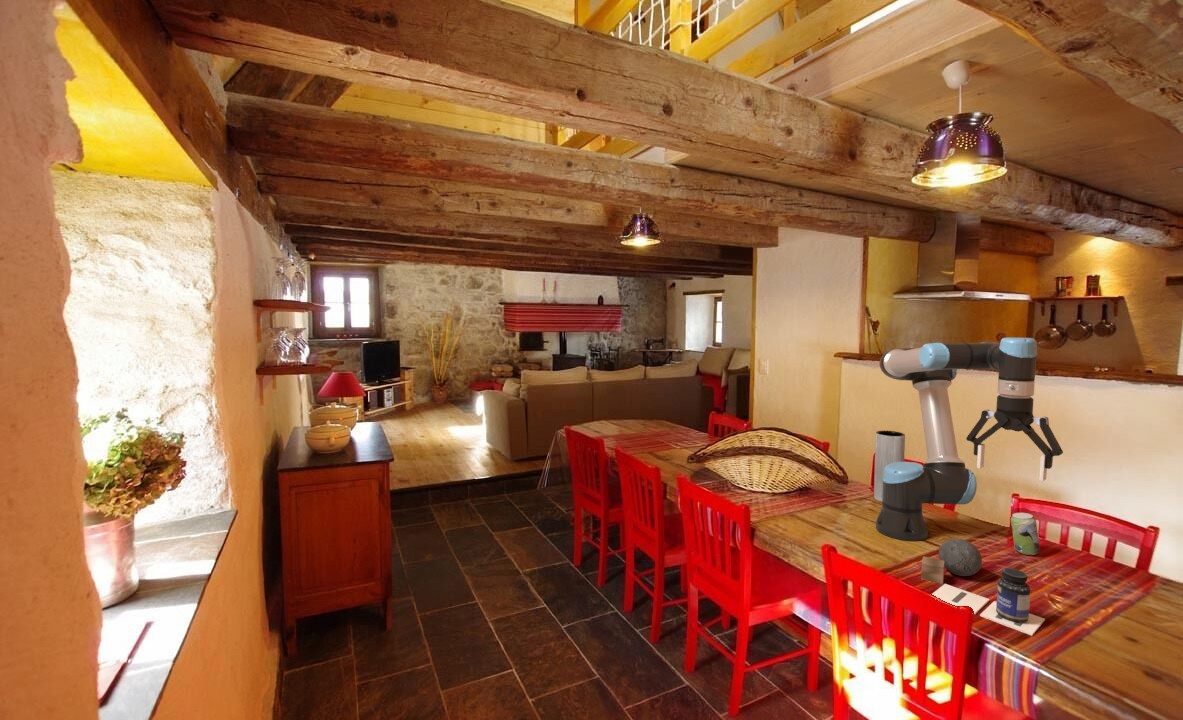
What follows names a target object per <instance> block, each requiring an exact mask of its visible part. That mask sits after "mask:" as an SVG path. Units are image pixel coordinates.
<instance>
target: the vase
mask: <svg viewBox="0 0 1183 720" xmlns="http://www.w3.org/2000/svg"><path fill="white" fill-rule="evenodd" d="M905 442H906V434H905V433H903V432H900V431H895V430H877V431H876V432H875V447H874V448H875V452H874V454H875V456H874V479H873V480H874V483H873V485H874V486H873V487H874V489H873V498H874V499H875V500H876V501H878V502H880V503H882V496H883V479H882V477H883V473H884V468H885V467H886V466H887V465H888V464H891V463H895V462H905V445H906V444H905Z"/></svg>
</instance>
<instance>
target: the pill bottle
mask: <svg viewBox="0 0 1183 720" xmlns="http://www.w3.org/2000/svg"><path fill="white" fill-rule="evenodd" d="M1001 576H1002V577H1000V578H999V579H998V580H997V591H996V602H997V604H996V612H997V613H998V614H999V615H1000V616H1001V617H1003V618H1005V619H1007V620H1010V621H1013V622H1019V623H1021V622H1027V621H1028V618H1029V613H1030V601H1031V600H1030V599H1031V587H1030V585H1029V584H1028V583H1026V582H1027V581H1028V575H1027V574H1026V573H1025V572H1024V571H1022V570H1019V569H1016V568H1010V567H1005V568H1002V570H1001Z"/></svg>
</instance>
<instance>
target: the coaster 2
mask: <svg viewBox="0 0 1183 720" xmlns="http://www.w3.org/2000/svg"><path fill="white" fill-rule="evenodd" d="M996 604H997V600H994V601H993V602H991V604H989V606H987V607H986V608H985V609H984V610H983V611H982V612H981V613H980V614H979V617H982V618H984V619H987V620H989V621H992V622H994V623H997V624H1000V625H1002V626H1004V627H1008V628H1009V629H1010V628H1011V629H1013V630H1016V631H1018V632H1021V633H1023V634H1027V635H1029V636H1031V637H1033V636H1034V635H1035V634H1036V632H1037V631H1038V630H1039V628H1040V627H1041V626H1042V624H1044V622H1045V621H1046V619H1045V618H1044V617H1040V616H1038V615H1035V614H1033V613H1030V612H1029V618H1028V621H1027V622H1021V623H1019V622H1013V621H1010V620H1007V619H1005V618H1003V617H1001V616H1000V615H999V614H998V613H997V612H996Z"/></svg>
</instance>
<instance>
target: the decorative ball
mask: <svg viewBox="0 0 1183 720" xmlns="http://www.w3.org/2000/svg"><path fill="white" fill-rule="evenodd" d="M938 558H939V559H938V560H943V561H944V569H946V570H947V571H948V572H951V573H952V574H953V575H957V576H960V577H969V576H973V575H975V574H976V573H978V572H979V571H980V569H981V567H982V566H983V565H982V564H983V558H982V554H981V552H980V550H979V549H978V548H977V547H976V546H975V545H974V544H973V543H972V542H970V541H968V540H966V539H963V538H950V539H946V540H945V541H944V542H942V544H941V545H940V546H939V550H938Z"/></svg>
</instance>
